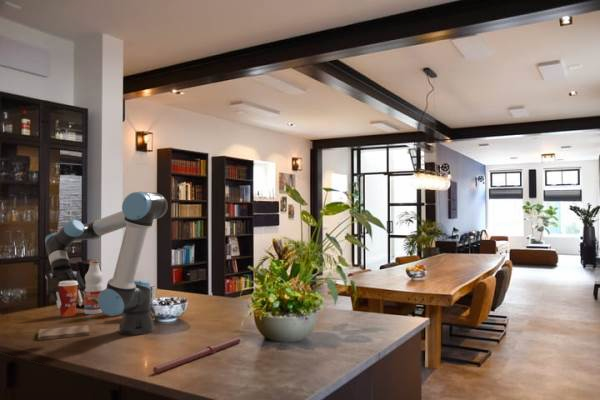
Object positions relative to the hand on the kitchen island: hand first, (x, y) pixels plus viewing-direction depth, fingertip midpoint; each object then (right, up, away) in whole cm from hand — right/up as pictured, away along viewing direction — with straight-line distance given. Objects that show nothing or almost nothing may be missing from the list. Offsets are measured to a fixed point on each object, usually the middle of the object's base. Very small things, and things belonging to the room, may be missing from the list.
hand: (70, 305), depth 197 cm
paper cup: (-2, -5, +2) cm, 6 cm away
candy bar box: (+14, -17, +49) cm, 54 cm away
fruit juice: (-16, -17, +60) cm, 64 cm away
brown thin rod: (+58, -16, -17) cm, 62 cm away
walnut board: (-10, -16, +15) cm, 25 cm away
